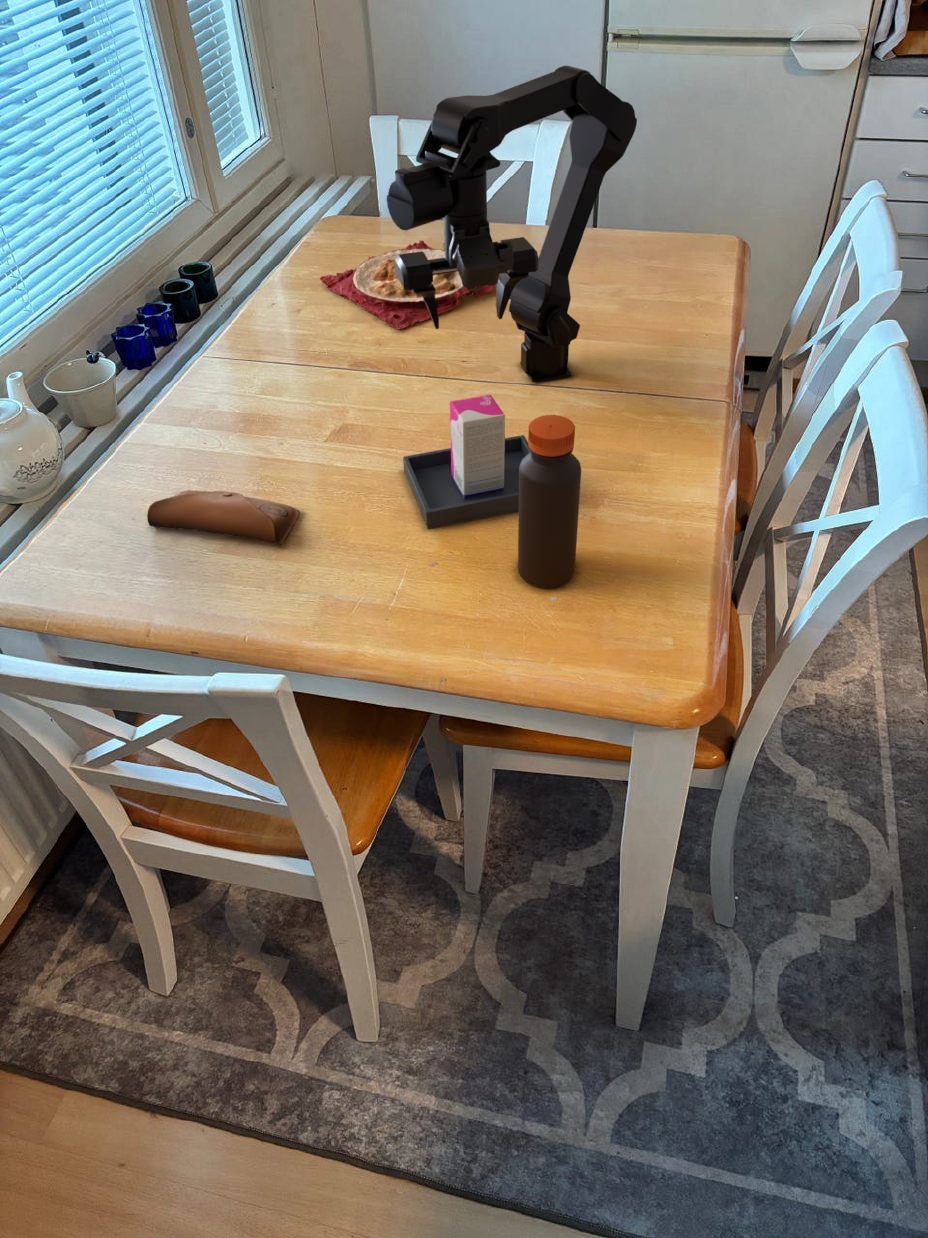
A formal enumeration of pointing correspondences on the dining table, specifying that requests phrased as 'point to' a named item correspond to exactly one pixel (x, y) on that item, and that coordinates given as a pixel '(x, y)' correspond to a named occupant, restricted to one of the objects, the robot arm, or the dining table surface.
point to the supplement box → (477, 446)
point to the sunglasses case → (225, 515)
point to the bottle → (548, 503)
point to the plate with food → (398, 288)
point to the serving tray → (442, 495)
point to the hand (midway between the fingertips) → (468, 322)
